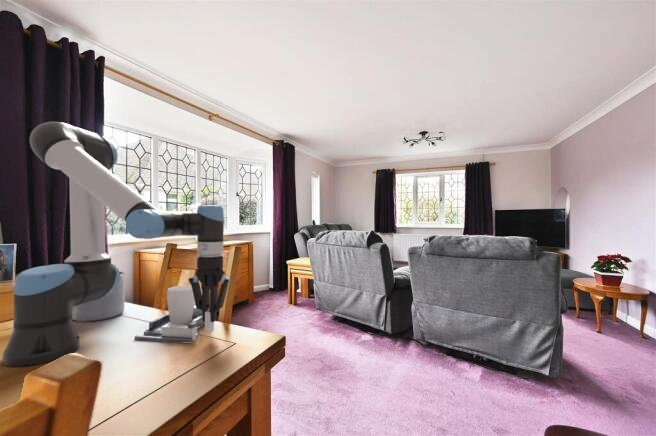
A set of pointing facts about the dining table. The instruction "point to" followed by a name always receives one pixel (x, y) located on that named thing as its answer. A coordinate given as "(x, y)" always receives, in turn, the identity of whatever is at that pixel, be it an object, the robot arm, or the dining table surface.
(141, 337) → the guide
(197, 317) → the grey rail tray
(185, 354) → the dining table surface
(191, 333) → the grey flat block
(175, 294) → the cup
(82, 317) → the planter
